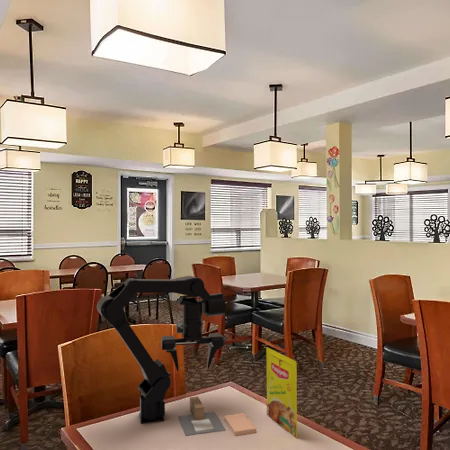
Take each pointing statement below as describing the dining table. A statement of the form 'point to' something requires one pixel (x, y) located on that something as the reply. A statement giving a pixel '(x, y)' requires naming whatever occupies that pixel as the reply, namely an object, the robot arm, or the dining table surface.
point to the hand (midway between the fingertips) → (192, 369)
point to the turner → (199, 416)
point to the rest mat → (212, 416)
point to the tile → (239, 424)
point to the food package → (282, 390)
